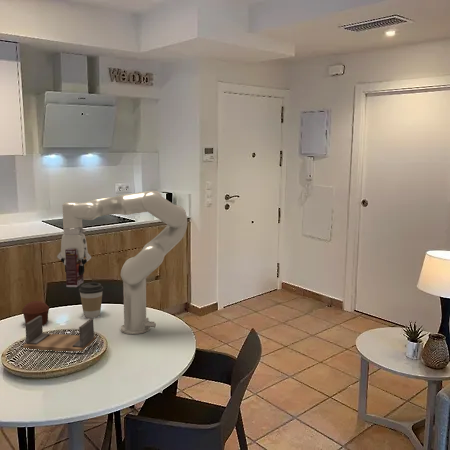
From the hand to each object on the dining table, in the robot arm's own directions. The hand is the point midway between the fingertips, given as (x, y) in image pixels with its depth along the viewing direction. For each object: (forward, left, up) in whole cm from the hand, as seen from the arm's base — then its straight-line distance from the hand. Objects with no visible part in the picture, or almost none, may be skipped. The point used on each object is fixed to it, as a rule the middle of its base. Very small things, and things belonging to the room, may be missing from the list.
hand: (74, 273), depth 199 cm
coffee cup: (+2, -20, -25) cm, 32 cm away
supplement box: (0, 0, -5) cm, 5 cm away
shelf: (-1, +16, -25) cm, 30 cm away
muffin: (+22, -6, -26) cm, 34 cm away
